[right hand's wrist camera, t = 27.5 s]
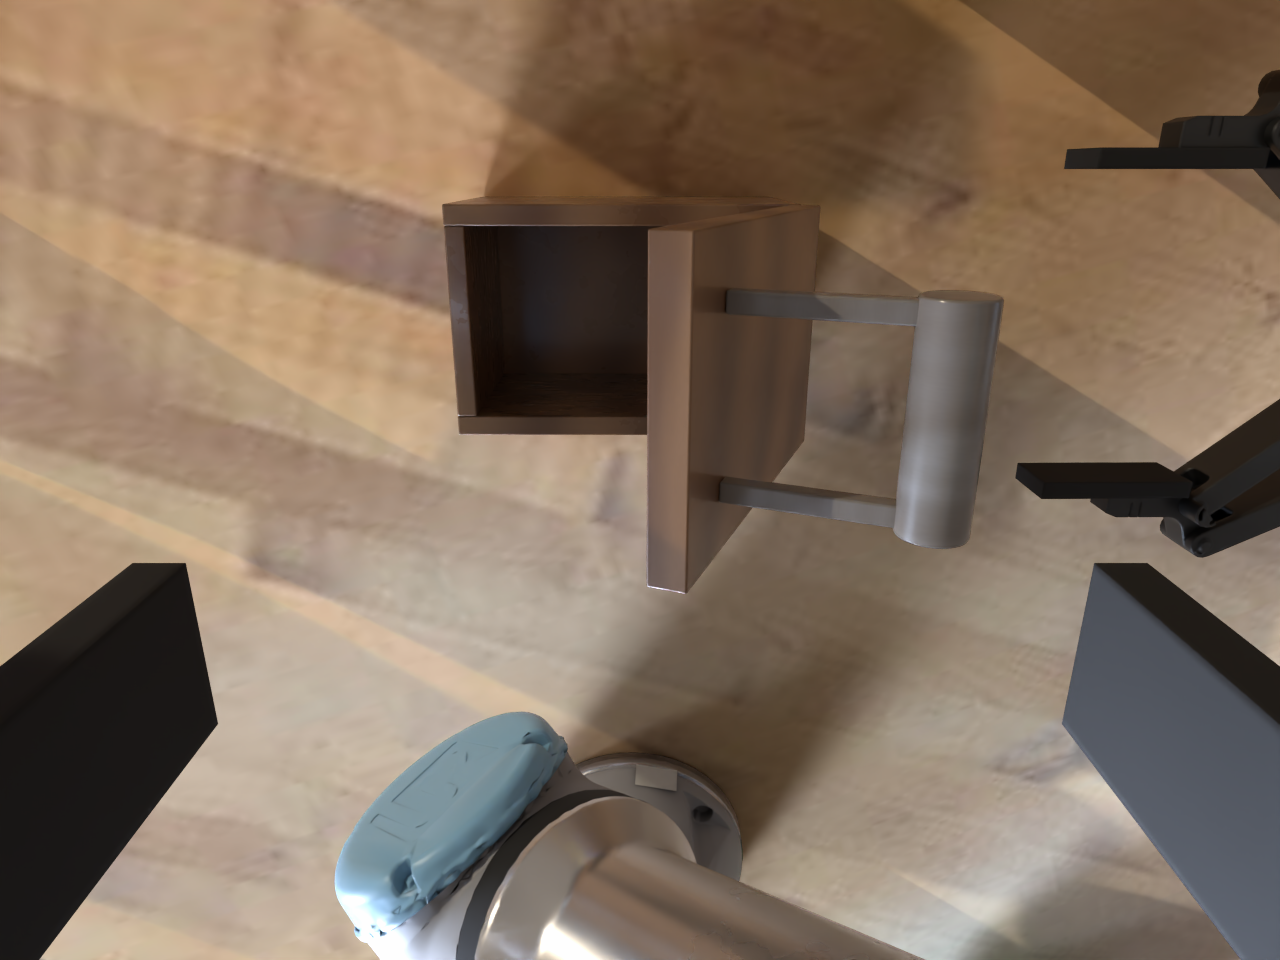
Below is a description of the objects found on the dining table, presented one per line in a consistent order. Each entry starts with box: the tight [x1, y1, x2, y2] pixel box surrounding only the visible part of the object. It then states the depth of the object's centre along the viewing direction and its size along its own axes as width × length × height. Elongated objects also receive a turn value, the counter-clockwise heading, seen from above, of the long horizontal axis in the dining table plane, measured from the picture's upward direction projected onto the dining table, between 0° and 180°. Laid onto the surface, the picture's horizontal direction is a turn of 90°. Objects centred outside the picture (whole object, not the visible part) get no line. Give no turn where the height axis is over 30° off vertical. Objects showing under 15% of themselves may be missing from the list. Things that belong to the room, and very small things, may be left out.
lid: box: [647, 205, 1004, 594], centre depth 29 cm, size 16×10×9 cm
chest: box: [442, 197, 801, 435], centre depth 43 cm, size 15×10×10 cm
